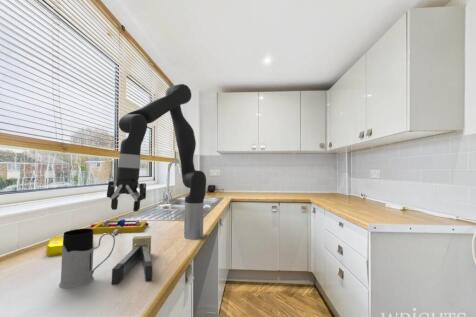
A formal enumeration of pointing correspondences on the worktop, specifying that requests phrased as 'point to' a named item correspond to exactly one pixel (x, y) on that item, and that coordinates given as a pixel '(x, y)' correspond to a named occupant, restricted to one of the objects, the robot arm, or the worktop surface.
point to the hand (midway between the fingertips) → (124, 210)
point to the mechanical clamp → (119, 227)
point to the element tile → (54, 246)
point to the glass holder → (78, 258)
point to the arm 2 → (146, 263)
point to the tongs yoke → (141, 247)
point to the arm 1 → (125, 265)
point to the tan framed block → (142, 241)
